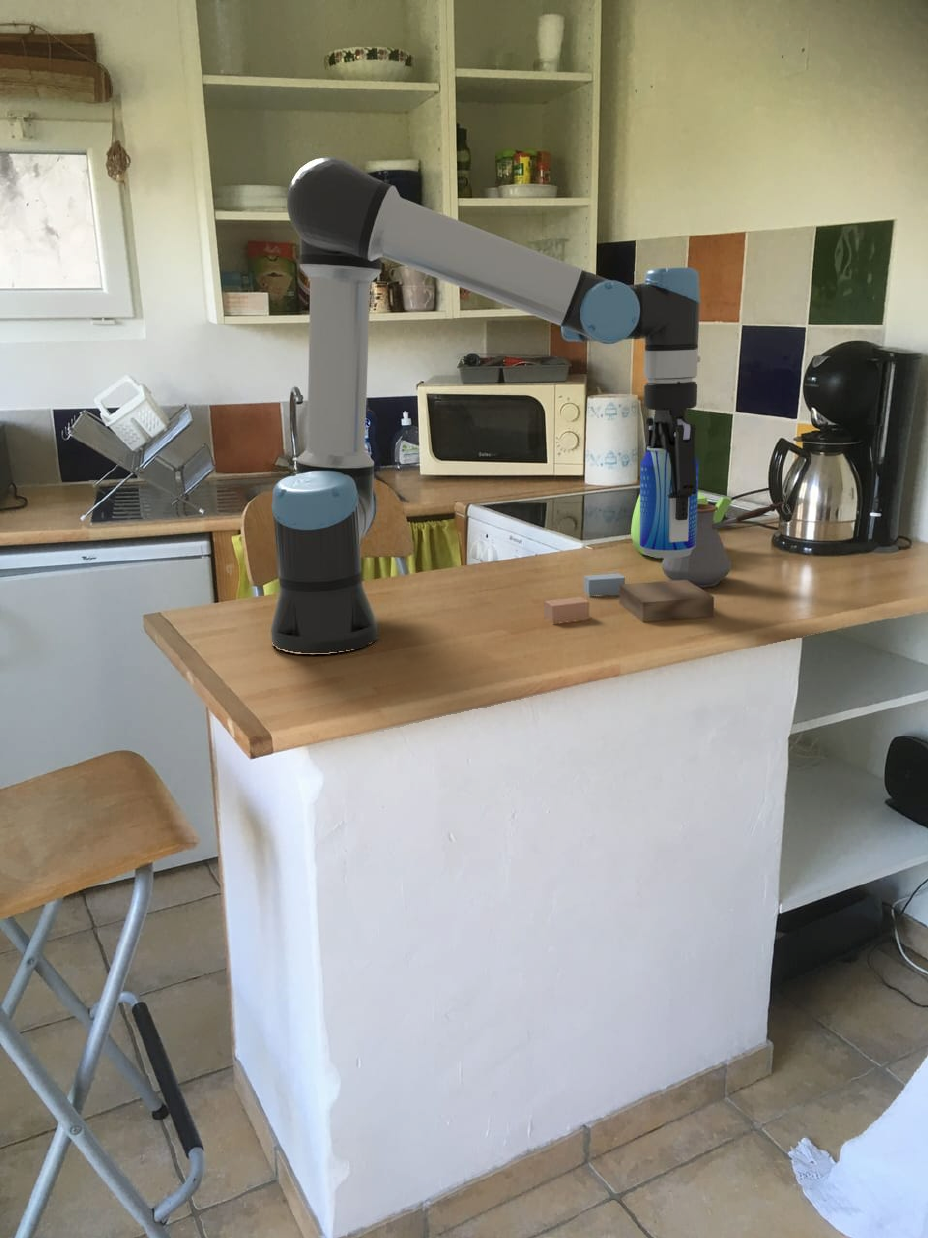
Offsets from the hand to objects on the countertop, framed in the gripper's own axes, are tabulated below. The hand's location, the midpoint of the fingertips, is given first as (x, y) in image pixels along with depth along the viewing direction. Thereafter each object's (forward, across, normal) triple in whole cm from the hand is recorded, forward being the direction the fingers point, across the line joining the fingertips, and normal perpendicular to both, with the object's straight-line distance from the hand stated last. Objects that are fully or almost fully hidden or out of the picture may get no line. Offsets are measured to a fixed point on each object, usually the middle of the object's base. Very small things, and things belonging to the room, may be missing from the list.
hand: (667, 535), depth 153 cm
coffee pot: (+12, +11, -14) cm, 21 cm away
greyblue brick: (+12, +12, +6) cm, 18 cm away
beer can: (+3, 0, 0) cm, 3 cm away
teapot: (+12, +37, -17) cm, 42 cm away
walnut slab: (+12, 0, 0) cm, 12 cm away
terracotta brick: (+12, -1, +16) cm, 20 cm away
